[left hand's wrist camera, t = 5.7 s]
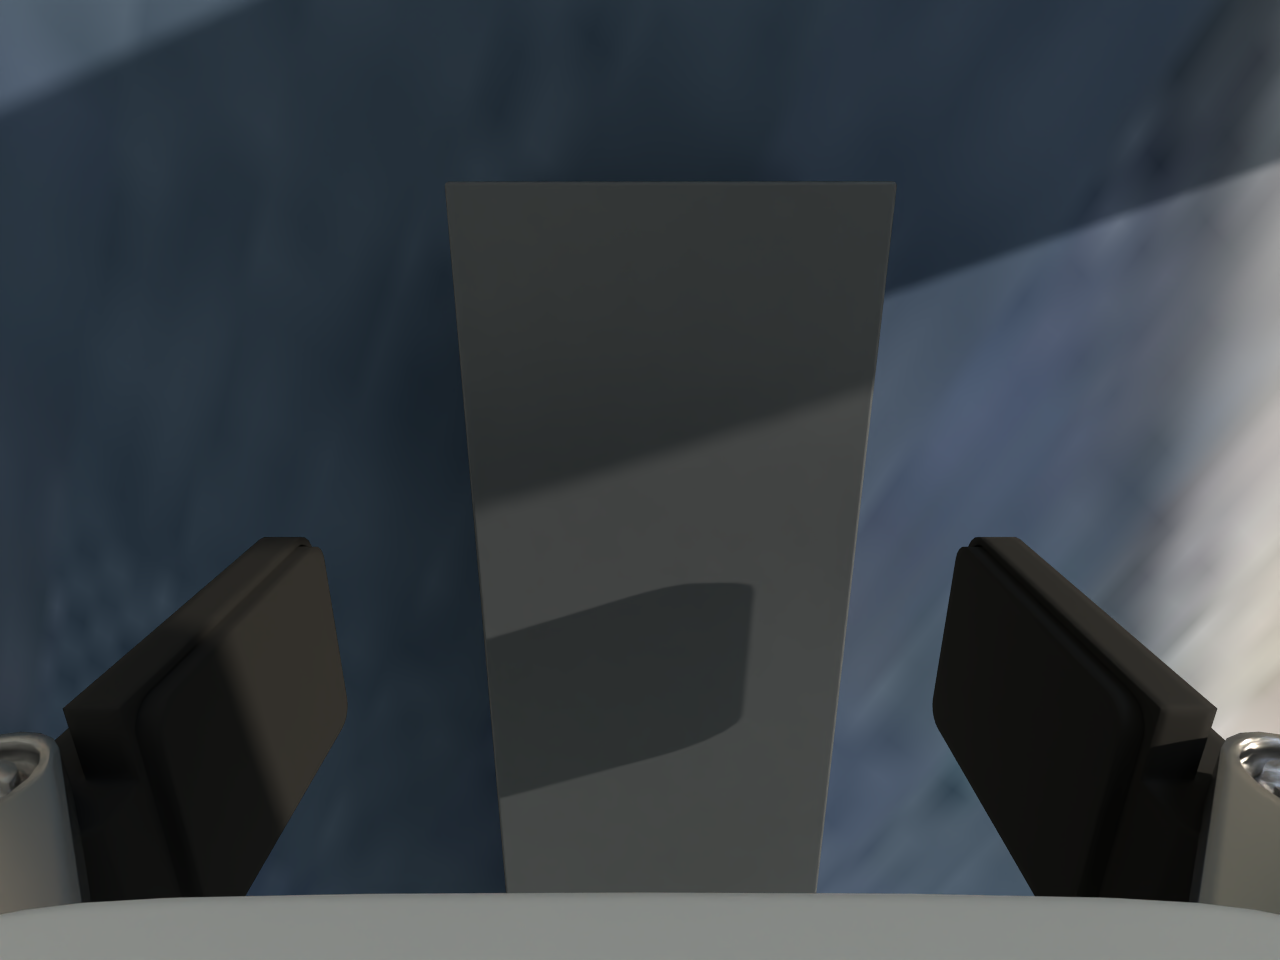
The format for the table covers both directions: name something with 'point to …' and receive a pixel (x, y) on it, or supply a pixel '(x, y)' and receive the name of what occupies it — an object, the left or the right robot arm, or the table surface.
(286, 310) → the table surface
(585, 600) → the post
